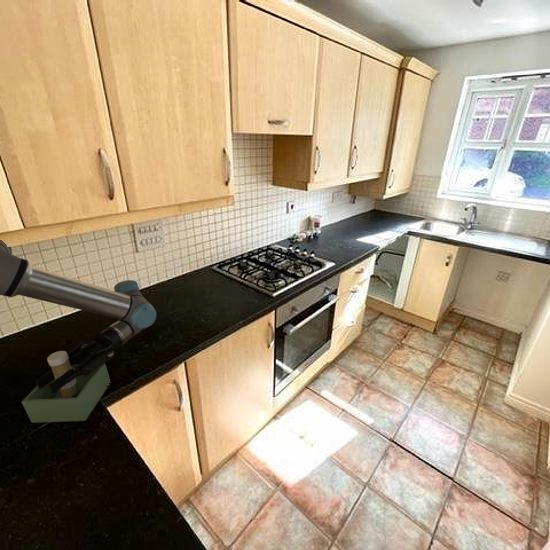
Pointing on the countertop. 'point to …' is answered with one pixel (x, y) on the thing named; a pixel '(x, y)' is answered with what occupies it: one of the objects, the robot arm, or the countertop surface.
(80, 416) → the bin
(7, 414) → the countertop surface
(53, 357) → the sprinkles bottle
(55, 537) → the countertop surface
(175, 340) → the countertop surface
